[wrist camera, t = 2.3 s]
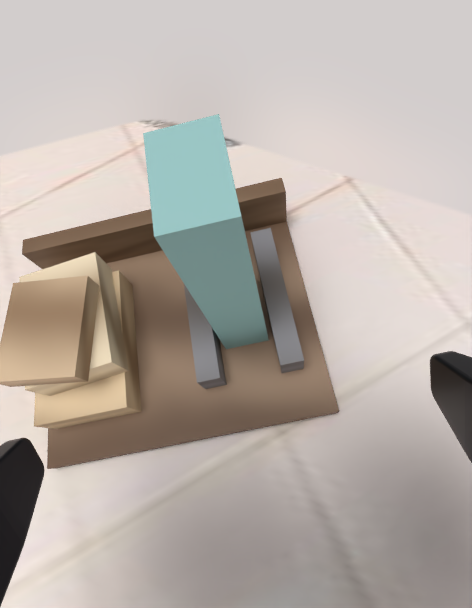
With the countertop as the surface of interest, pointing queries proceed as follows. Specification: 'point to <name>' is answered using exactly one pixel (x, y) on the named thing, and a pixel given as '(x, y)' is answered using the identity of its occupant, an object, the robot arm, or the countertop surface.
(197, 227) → the block
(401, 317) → the countertop surface
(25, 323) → the rack
